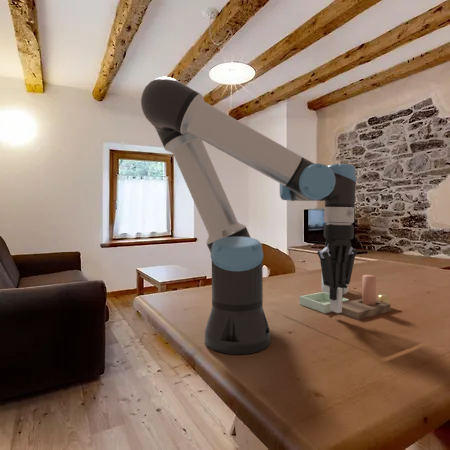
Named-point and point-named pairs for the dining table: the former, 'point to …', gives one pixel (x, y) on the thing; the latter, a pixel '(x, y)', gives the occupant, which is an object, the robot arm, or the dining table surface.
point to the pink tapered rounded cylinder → (369, 290)
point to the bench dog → (383, 298)
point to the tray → (318, 301)
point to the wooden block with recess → (363, 309)
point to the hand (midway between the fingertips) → (335, 311)
